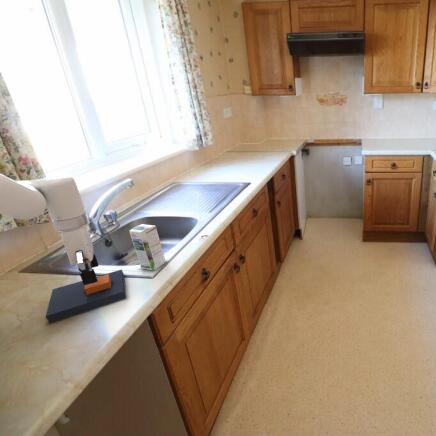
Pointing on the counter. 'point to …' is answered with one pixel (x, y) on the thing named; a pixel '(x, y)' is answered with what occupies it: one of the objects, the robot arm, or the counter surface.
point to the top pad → (99, 284)
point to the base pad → (84, 298)
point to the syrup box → (147, 246)
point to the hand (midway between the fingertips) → (91, 274)
